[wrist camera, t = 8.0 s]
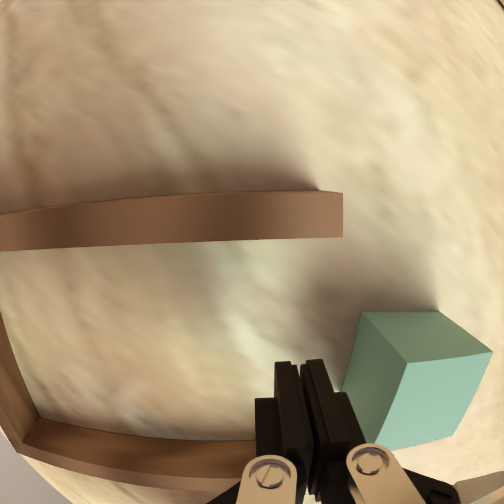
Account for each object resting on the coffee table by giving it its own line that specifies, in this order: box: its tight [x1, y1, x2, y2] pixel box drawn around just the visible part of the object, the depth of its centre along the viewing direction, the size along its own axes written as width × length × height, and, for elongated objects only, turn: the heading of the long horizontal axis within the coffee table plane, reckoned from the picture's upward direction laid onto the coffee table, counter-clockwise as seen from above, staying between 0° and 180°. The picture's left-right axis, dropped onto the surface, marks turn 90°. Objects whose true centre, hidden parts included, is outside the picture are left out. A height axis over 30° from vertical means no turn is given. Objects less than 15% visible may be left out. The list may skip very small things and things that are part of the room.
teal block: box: [341, 311, 493, 451], centre depth 13 cm, size 5×5×5 cm
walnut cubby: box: [0, 190, 343, 492], centre depth 13 cm, size 20×16×3 cm
